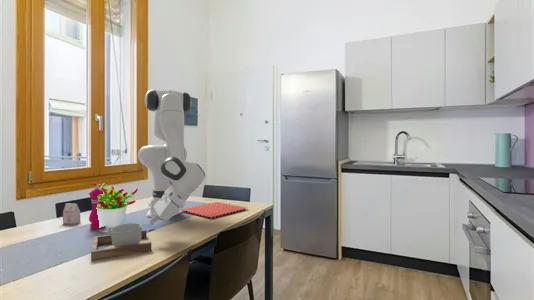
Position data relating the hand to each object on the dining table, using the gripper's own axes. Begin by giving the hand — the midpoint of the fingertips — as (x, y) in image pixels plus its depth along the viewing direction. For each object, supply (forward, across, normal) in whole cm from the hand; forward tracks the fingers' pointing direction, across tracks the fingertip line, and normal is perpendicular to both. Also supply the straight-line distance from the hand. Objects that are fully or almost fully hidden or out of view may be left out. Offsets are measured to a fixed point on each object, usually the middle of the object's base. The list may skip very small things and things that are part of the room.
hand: (150, 223), depth 121 cm
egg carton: (-21, -42, +34) cm, 58 cm away
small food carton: (+29, -50, -16) cm, 60 cm away
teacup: (+13, 0, -1) cm, 13 cm away
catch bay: (+12, 0, -1) cm, 13 cm away
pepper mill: (+20, -35, -8) cm, 42 cm away
